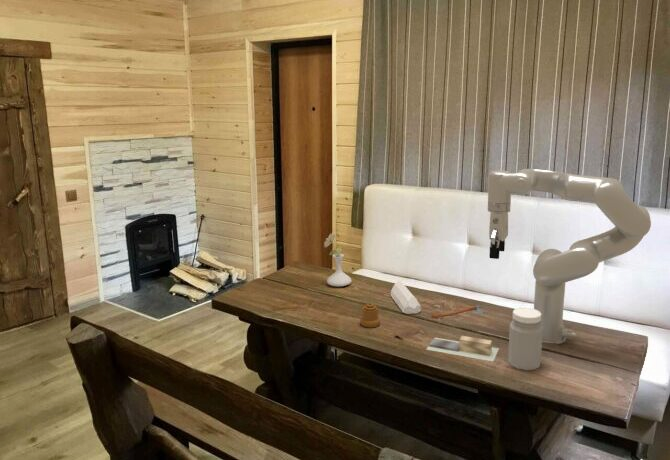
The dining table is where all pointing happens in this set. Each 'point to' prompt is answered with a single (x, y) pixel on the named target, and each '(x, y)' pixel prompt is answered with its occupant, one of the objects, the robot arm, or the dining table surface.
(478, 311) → the axe
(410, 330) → the wood plank
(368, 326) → the ornamental finial
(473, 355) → the board
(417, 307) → the crystal
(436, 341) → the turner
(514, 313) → the jar
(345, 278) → the flower in vase
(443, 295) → the dining table surface
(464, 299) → the dining table surface
